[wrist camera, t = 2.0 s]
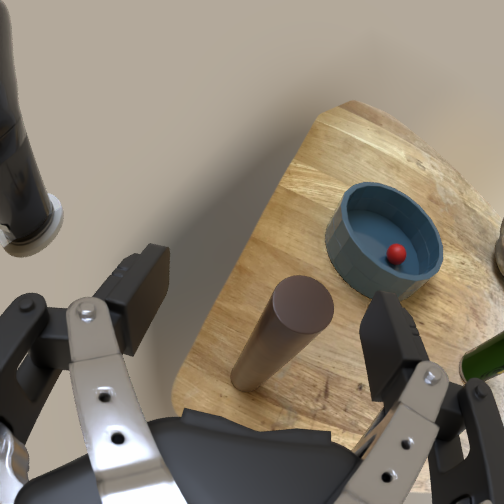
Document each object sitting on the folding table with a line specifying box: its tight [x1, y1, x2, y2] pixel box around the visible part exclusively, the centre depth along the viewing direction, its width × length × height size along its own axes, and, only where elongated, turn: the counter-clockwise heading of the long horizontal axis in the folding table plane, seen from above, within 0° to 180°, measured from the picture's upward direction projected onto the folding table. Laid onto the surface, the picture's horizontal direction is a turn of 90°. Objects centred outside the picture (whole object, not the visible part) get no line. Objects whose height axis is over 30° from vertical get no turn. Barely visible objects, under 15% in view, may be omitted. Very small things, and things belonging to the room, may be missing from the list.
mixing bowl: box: [325, 182, 443, 301], centre depth 39 cm, size 17×17×6 cm
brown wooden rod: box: [231, 275, 334, 392], centre depth 22 cm, size 3×3×18 cm
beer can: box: [459, 331, 504, 383], centre depth 28 cm, size 5×5×12 cm
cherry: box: [386, 244, 406, 265], centre depth 39 cm, size 3×3×3 cm
